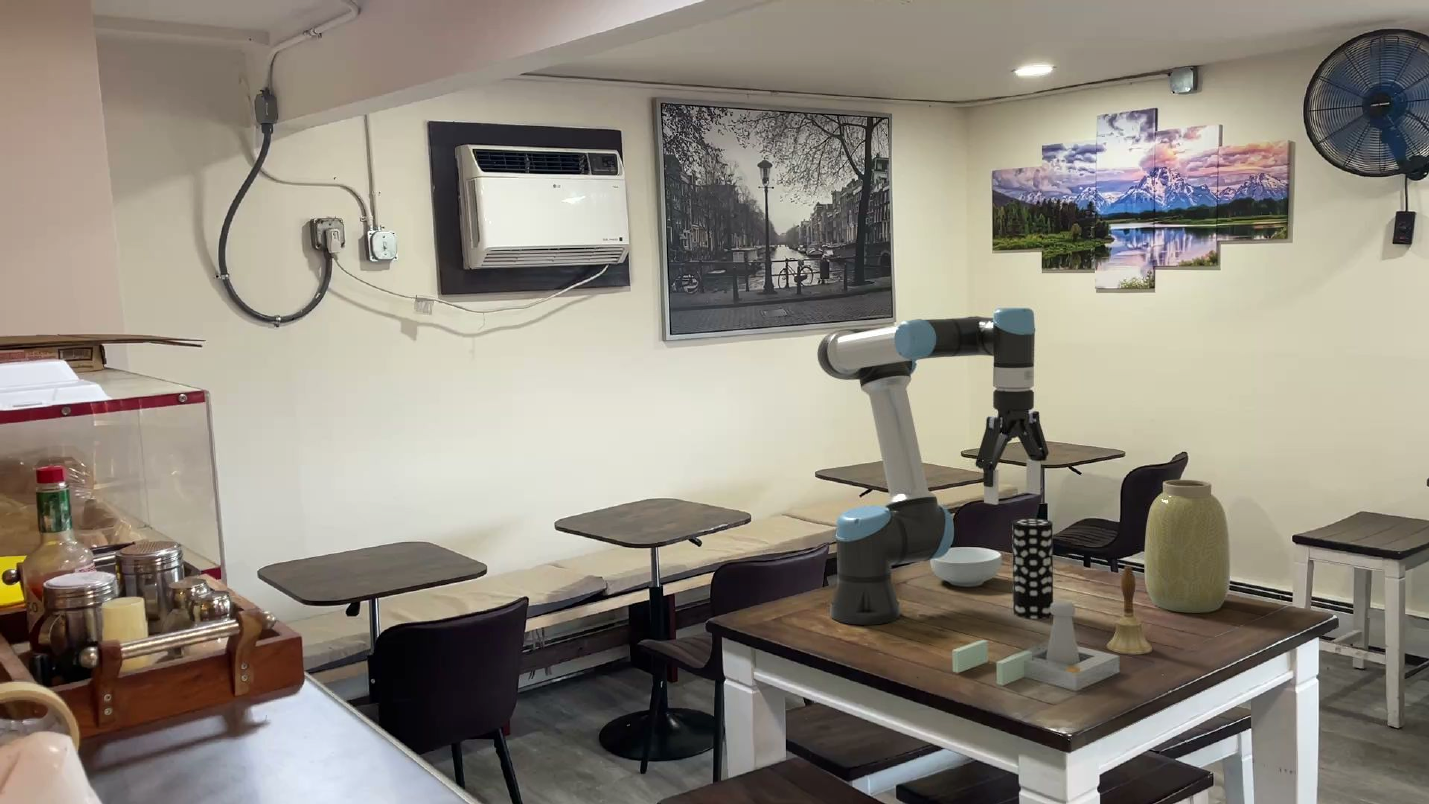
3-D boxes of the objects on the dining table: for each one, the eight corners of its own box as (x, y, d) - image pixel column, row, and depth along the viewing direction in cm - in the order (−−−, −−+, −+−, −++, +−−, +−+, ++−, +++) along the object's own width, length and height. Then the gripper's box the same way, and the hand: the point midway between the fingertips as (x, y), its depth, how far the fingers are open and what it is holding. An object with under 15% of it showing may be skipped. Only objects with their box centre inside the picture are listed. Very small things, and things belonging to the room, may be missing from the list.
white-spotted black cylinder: (1013, 618, 239) (1012, 525, 237) (1012, 607, 247) (1011, 518, 245) (1054, 619, 237) (1053, 526, 235) (1052, 608, 245) (1051, 518, 243)
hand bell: (1098, 649, 216) (1098, 568, 215) (1118, 639, 222) (1118, 560, 221) (1140, 657, 210) (1140, 574, 209) (1159, 647, 216) (1159, 566, 215)
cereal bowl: (960, 571, 282) (959, 543, 281) (1015, 582, 269) (1015, 553, 268) (915, 583, 271) (915, 554, 271) (971, 595, 258) (971, 565, 258)
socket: (1007, 672, 204) (1007, 653, 204) (1051, 655, 213) (1051, 637, 213) (1076, 691, 194) (1076, 671, 193) (1119, 672, 202) (1119, 653, 202)
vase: (1240, 616, 235) (1241, 489, 232) (1154, 615, 237) (1154, 490, 235) (1217, 595, 251) (1217, 476, 249) (1136, 594, 254) (1136, 477, 252)
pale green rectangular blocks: (952, 671, 206) (952, 650, 205) (982, 660, 212) (982, 639, 211) (1002, 685, 197) (1002, 663, 197) (1032, 673, 203) (1031, 652, 203)
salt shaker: (1081, 678, 200) (1081, 606, 199) (1048, 676, 201) (1047, 606, 200) (1077, 667, 206) (1076, 598, 205) (1044, 666, 207) (1044, 597, 206)
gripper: (990, 395, 203) (989, 510, 205) (1067, 385, 219) (1066, 491, 221) (956, 392, 209) (956, 504, 211) (1034, 382, 224) (1033, 487, 227)
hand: (1012, 498), depth 216 cm, fingers open, 13 cm apart
